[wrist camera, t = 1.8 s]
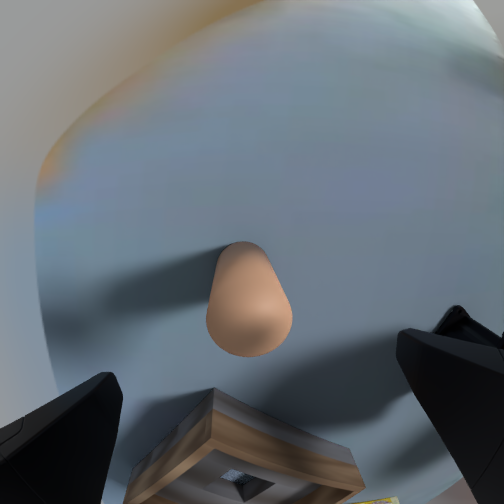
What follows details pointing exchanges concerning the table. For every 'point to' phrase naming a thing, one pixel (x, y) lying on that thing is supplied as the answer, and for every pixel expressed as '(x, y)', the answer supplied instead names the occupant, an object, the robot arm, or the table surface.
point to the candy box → (382, 501)
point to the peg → (247, 303)
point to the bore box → (242, 461)
